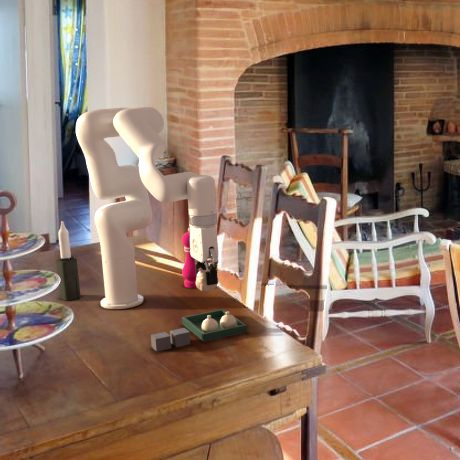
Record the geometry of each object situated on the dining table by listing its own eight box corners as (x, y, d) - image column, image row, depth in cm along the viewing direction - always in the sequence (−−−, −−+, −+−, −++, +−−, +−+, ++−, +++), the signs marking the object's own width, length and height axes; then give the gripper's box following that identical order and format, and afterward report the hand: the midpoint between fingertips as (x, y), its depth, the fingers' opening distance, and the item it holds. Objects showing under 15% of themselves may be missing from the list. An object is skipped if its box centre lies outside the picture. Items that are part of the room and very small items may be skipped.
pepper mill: (199, 289, 263) (195, 230, 258) (179, 287, 265) (175, 229, 260) (209, 282, 270) (205, 225, 265) (189, 281, 271) (185, 224, 267)
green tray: (182, 325, 230) (181, 317, 229) (223, 317, 237) (223, 308, 237) (203, 343, 217) (203, 334, 216) (247, 333, 224) (246, 324, 224)
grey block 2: (170, 344, 216) (169, 330, 215) (185, 341, 218) (184, 327, 217) (176, 349, 213) (175, 335, 212) (190, 345, 215) (189, 331, 214)
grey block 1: (151, 348, 213) (150, 334, 212) (166, 345, 215) (165, 331, 214) (156, 353, 210) (155, 339, 209) (171, 350, 212) (170, 336, 211)
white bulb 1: (199, 332, 223) (198, 315, 222) (214, 329, 225) (213, 311, 224) (205, 337, 219) (204, 319, 218) (220, 334, 222) (219, 316, 221)
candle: (72, 294, 258) (65, 218, 252) (82, 297, 255) (74, 220, 249) (58, 298, 254) (49, 221, 248) (67, 301, 251) (59, 223, 245)
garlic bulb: (191, 290, 228) (190, 264, 226) (212, 286, 232) (210, 259, 230) (202, 296, 223) (201, 268, 221) (223, 291, 227) (221, 264, 225)
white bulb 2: (218, 328, 226) (217, 311, 225) (232, 325, 228) (231, 308, 227) (224, 333, 223) (223, 315, 221) (239, 330, 225) (238, 312, 224)
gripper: (179, 216, 227) (183, 276, 231) (201, 227, 214) (205, 291, 218) (204, 212, 231) (208, 271, 236) (228, 224, 218) (231, 286, 222)
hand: (206, 280), depth 227 cm, fingers closed on garlic bulb, 6 cm apart
